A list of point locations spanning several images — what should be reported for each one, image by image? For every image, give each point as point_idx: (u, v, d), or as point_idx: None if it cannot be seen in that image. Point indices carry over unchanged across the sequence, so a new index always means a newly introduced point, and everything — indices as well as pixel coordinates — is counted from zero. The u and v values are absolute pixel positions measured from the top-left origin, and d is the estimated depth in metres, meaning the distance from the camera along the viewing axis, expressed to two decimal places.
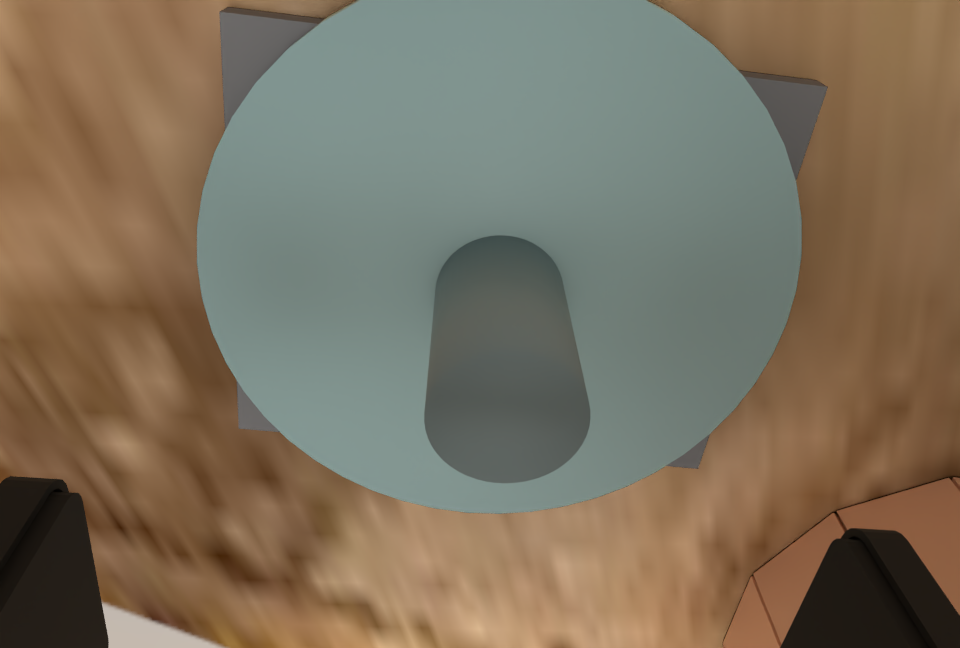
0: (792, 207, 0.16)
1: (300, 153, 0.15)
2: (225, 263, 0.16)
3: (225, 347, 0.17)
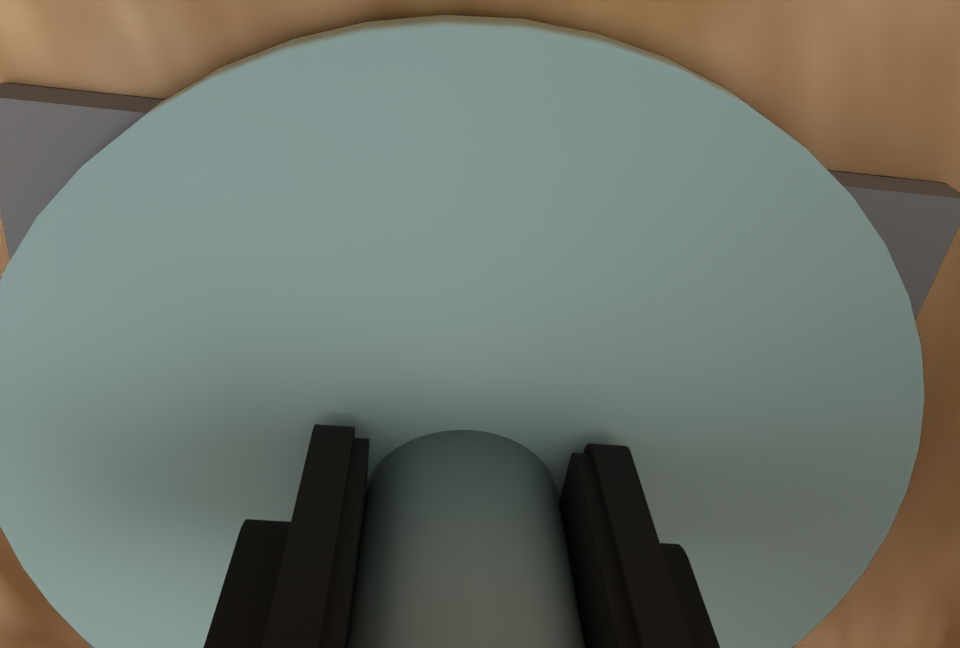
0: (912, 382, 0.10)
1: (127, 322, 0.09)
2: (28, 478, 0.10)
3: (46, 585, 0.12)
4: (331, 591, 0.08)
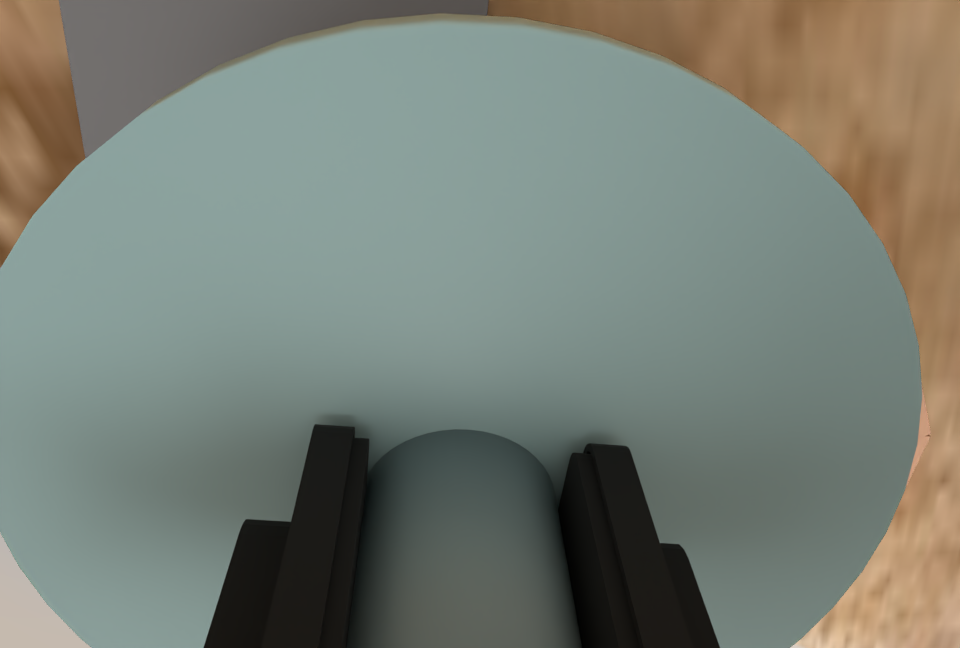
0: (909, 381, 0.10)
1: (123, 321, 0.09)
2: (24, 477, 0.10)
3: (43, 585, 0.12)
4: (331, 591, 0.08)
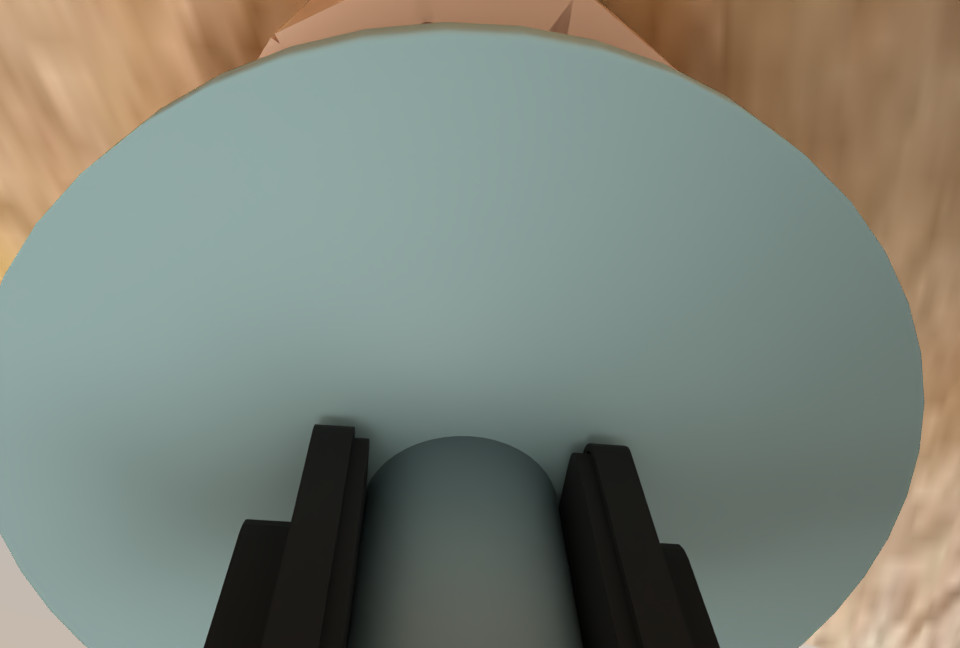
0: (911, 388, 0.10)
1: (126, 329, 0.09)
2: (27, 484, 0.10)
3: (46, 591, 0.12)
4: (331, 591, 0.08)
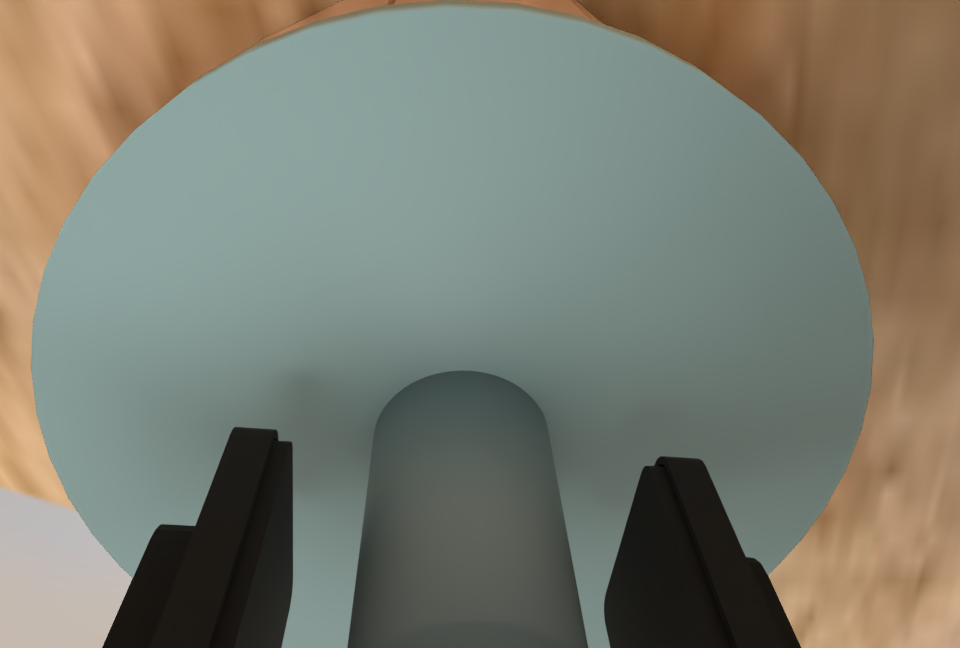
0: (861, 327, 0.12)
1: (169, 270, 0.11)
2: (77, 414, 0.12)
3: (89, 516, 0.13)
4: (228, 600, 0.07)
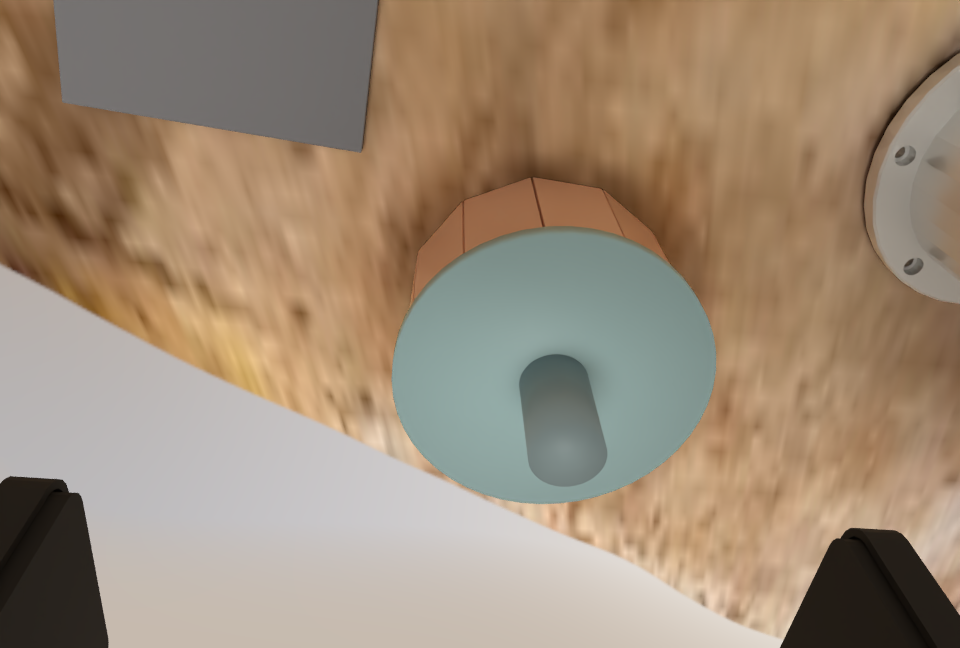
0: (711, 347, 0.30)
1: (459, 311, 0.29)
2: (408, 362, 0.30)
3: (398, 405, 0.31)
4: None
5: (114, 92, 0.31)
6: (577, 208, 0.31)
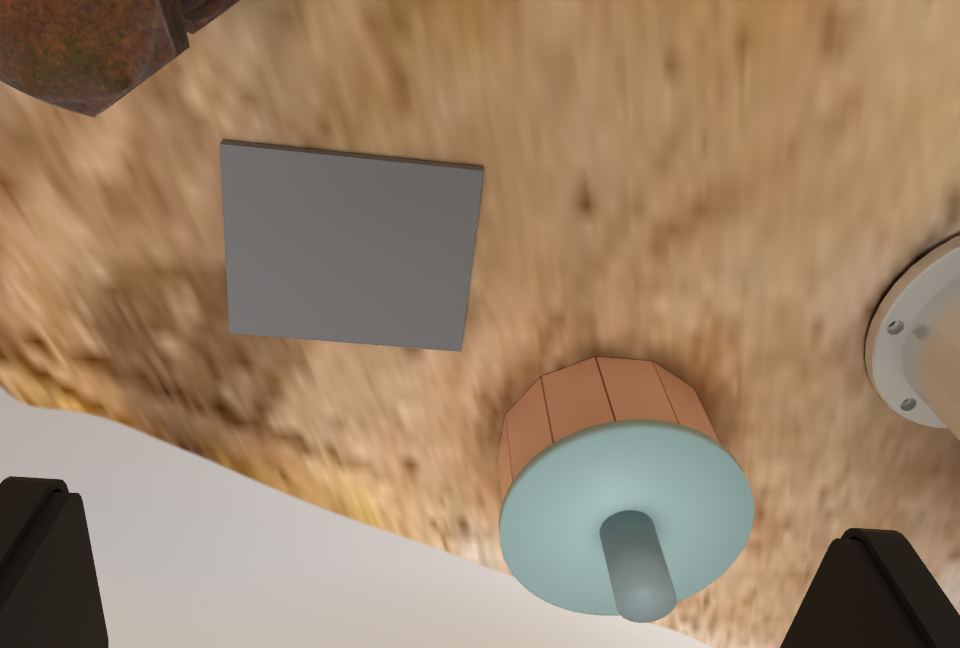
0: (749, 497, 0.39)
1: (552, 485, 0.38)
2: (513, 523, 0.39)
3: (505, 552, 0.40)
4: None
5: (270, 323, 0.40)
6: (636, 390, 0.40)
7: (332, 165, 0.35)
